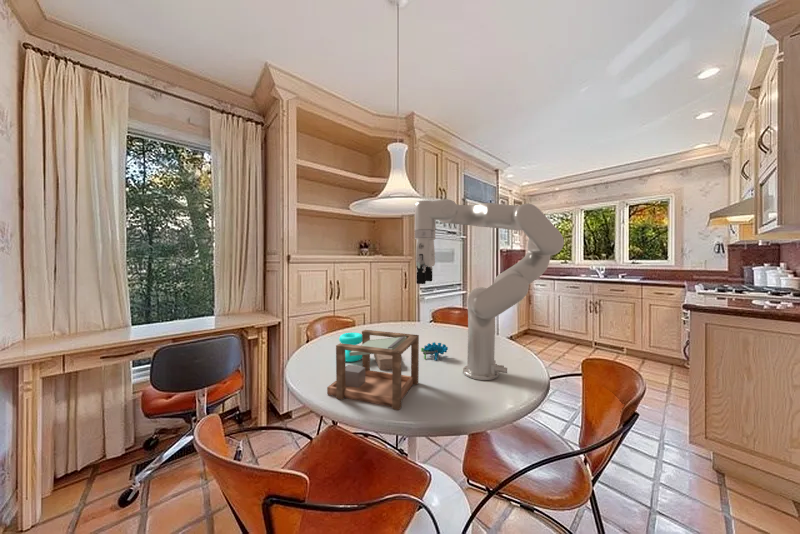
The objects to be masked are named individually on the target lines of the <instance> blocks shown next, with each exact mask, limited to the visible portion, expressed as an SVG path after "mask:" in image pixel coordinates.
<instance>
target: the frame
mask: <svg viewBox="0 0 800 534" xmlns="http://www.w3.org/2000/svg"><path fill="white" fill-rule="evenodd" d="M361 334H362V342H361V345H362V344H364V343H365V342H367V341H368V340H371V336H376V337H387V338H397V337H407V339H406V340H405V341H404V342H402V343H401V344H400V345H399V346H398V347H397V348H395V349H394V350H393V349H385V348H376V347H368V346H361V345H360V344H357V345H351V344H342V343H341V342H339V343H338V344H336V345H335V365H336V367H335V368H336V369H335V370H336V372H335V373H336V374H335V377H336V378H335V379H336V380H335V381H333V382H332V383H330V384H329V385H328V386H327V390H326V391H327V392H326V395H327V394H329V395H328V396H331V395H333V396H332V397H336V400H341V399H342V400H344V399H348V400H354V401H360V402H365V403H371V404H376V405H382V406H387V407H391V408H392V410H394V411H395V410H396V411H400V409H401V408H402V400H403V399H404V398H405V396H406V395H407V393H408V392H409V390H410V389H411V388H412V387H413V385H414V386H415V385H416V386H417V385H418V384H419V374H420V373H419V366H420V365H419V362H420V361H419V360H420V359H419V355H420V354H419V351H420V346H419V345H420V343H419V342H420V341H419V339H420V338H419V337H420V335H419V334H413V333H401V332H391V331H382V330H370V329H363V330H362V331H361ZM410 347H411V348H410ZM409 348H410V351H411V352H410V359H411V360H410V375H403V374H402V355H403V354H404V353H405V351H407V350H408V349H409ZM345 350H350V351H358V352H366V353H374V354H382V355H390V356H392V369H391V370H392V371H391V372H385V371H384V372H383V371H378V370H371V354H367V355H362V359H361V360H362V366H361V367H365V383H364V384H362V385H361V386H360V387H359V388H357V387H351V386H346V378H345V367H346V361H345ZM374 354H373V355H374ZM342 400H341V401H342Z"/></svg>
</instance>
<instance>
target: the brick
mask: <svg viewBox="0 0 800 534" xmlns="http://www.w3.org/2000/svg"><path fill="white" fill-rule="evenodd" d="M373 357H374V360H375V362H376V364H377V366H378V369H379V370H380V371H386V370H388V371H389V370H392V356H390V355H382V354H373Z"/></svg>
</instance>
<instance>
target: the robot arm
mask: <svg viewBox="0 0 800 534" xmlns="http://www.w3.org/2000/svg"><path fill="white" fill-rule="evenodd" d="M438 220H439V222H441V223H443V224H450V225H451V224H452V225H462V226H473V227H479V228H480V227H481V228H491V229H492V228H494V229H503V230H510V231H511V230H512V231H523V233H524V234H525V235H526V236H527V237H528V240H527V251H526V254H525V256H523V258H522V259H520V260H519V261H518V262H516V263H515V264H514V265H512V266H510V267H509V268H507V269H506V270H504V271H502V272H501V273H499V274H498V275H496V277H495V279H494V281H493V283H492V284H491V285H490V286H488V287H482V286H478V287H476V288H474V289H473V290H471V291H470V292H469V295H468V297H467V362H466V363H467V365H466V366H464V367H463V368H462V373H463V374H464V375H465V376H466V377H468V378H470V379H474V380H478V381H492V380H496V379H498V377H499V373H503V374H508V367H505V365H504V364H503V365H502V364H501V365H500V364H498V363H496V360H495V350H496V348H495V346H496V345H495V343H496V342H495V341H496V339H495V338H496V317H498V316H500V315H501V314H502V313H505V312H506V311H508V310H509V309H510V308H512V307H514V306H515V305H516V304H519V302H521V301H523V300H524V299H525V297H526V296H527V294H528V292H529V290H530V289H529V288H530V287H529V286H530V284H532V283H533V282H534V281H536V280H537V279H539V278H540V277H541V276H543V274H544V273H545V272H546V271H547V269H548V267H549V266H550V265H549V264H550V260H551V256H554V255H557V254H559V253H560V252H561V251H562V249H563V247H564V246H565V245H564V244H565V240H564V236H563V235H562V233H561V232H560V230H559V229H558V228H557V226H555V225H554V224H553V223H552V221H550V219H549V218H548V217H547V216H546V215H545V214H544V213H543V212H542V211H541V209H540V208H539V207H537V206H536V205H534V204H531V203H523V204H520V205H514V204H504V203H503V204H502V203H501V204H500V203H495V202H494V203H493V202H485V203H484V202H483V203H479V204H466V205H465V204H457V202H455V201H454V200H453V199H449V198H445V199H437V200H418V201H417V202H415V204H414V240H416V244H415V245H416V246H415V247H416V248H415V265H416V284H418V285H425V284H426V283H427V282H432V281H433V267H434V266H435V264H436V256H435V254H436V253H435V240H436V221H438Z"/></svg>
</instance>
